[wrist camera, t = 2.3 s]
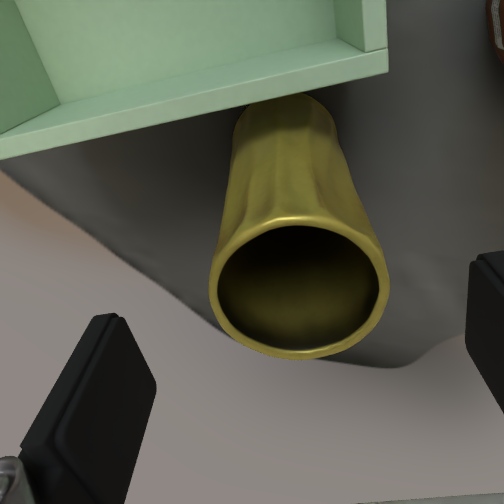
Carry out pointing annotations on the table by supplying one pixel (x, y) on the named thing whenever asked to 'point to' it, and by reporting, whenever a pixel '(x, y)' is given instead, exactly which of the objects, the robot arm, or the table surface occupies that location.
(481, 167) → the table surface
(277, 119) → the vase
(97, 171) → the table surface
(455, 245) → the table surface
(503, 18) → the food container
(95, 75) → the tote
